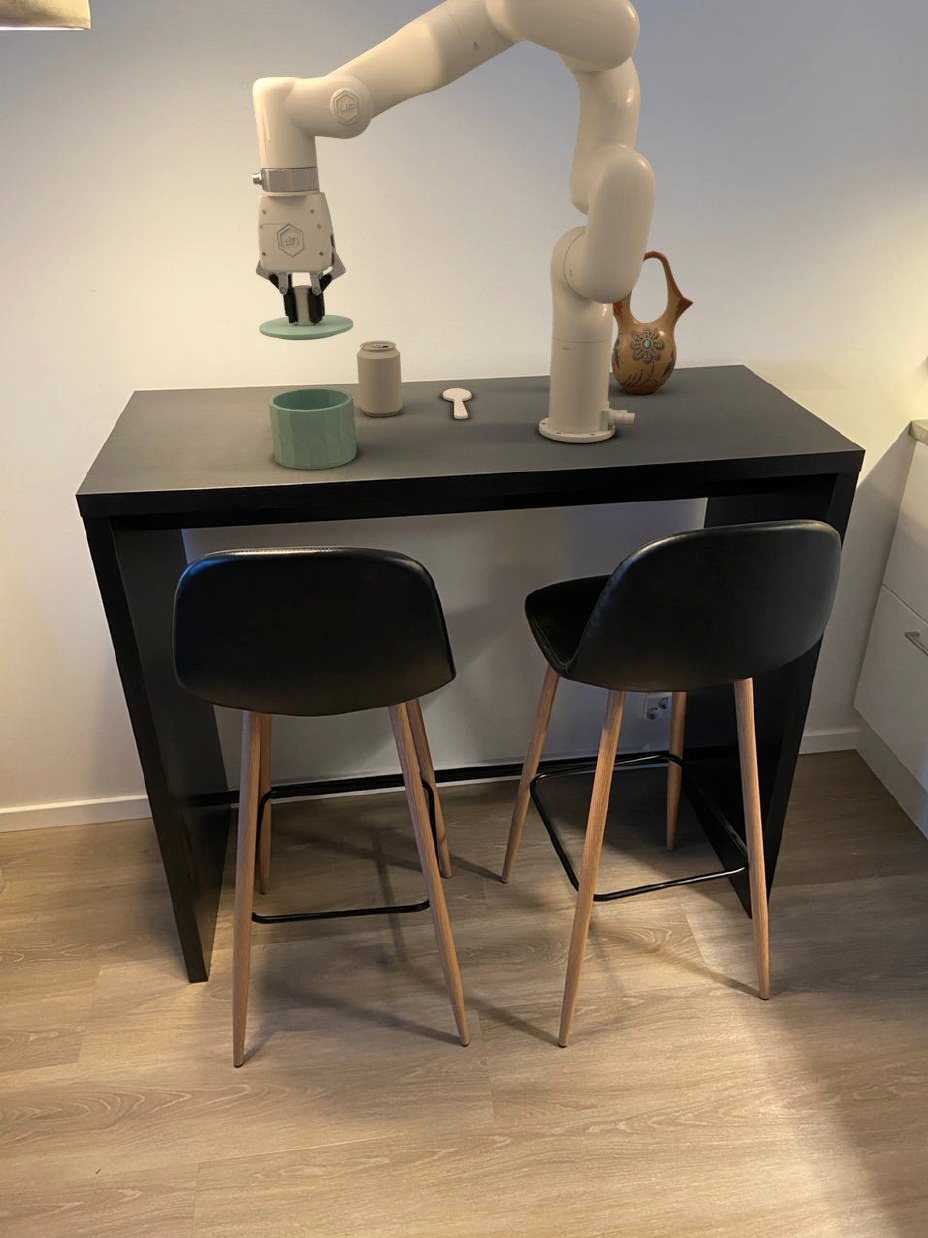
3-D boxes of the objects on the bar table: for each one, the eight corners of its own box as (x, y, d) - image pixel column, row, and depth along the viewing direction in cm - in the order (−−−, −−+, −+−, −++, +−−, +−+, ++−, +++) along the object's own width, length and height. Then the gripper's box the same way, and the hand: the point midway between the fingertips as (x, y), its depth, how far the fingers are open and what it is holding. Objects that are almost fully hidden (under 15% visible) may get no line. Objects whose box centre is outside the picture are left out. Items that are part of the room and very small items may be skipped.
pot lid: (363, 322, 139) (360, 278, 135) (339, 343, 127) (335, 295, 124) (277, 321, 141) (272, 278, 137) (246, 342, 129) (240, 295, 126)
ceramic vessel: (677, 383, 177) (692, 246, 165) (689, 397, 170) (706, 253, 157) (593, 385, 177) (602, 247, 164) (602, 399, 169) (612, 255, 156)
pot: (364, 444, 148) (361, 388, 143) (344, 471, 137) (339, 412, 132) (289, 441, 149) (284, 386, 145) (263, 467, 138) (256, 409, 134)
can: (396, 419, 159) (393, 349, 153) (355, 416, 160) (350, 347, 154) (407, 406, 165) (404, 339, 160) (367, 404, 167) (363, 337, 161)
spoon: (446, 419, 158) (446, 416, 158) (441, 390, 174) (441, 387, 174) (476, 418, 159) (476, 415, 158) (469, 389, 174) (469, 387, 174)
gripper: (223, 185, 122) (243, 326, 131) (342, 183, 120) (353, 327, 129) (243, 180, 128) (261, 315, 137) (356, 179, 126) (366, 316, 135)
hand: (306, 320), depth 133 cm, fingers closed on pot lid, 2 cm apart
